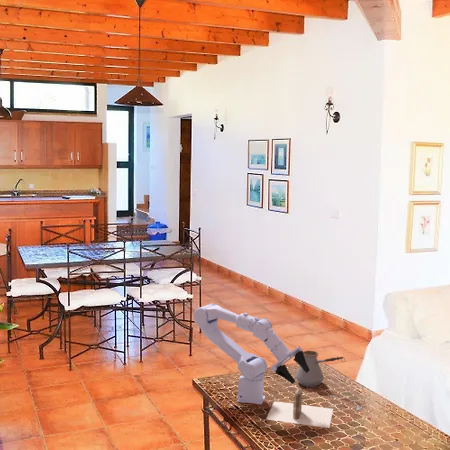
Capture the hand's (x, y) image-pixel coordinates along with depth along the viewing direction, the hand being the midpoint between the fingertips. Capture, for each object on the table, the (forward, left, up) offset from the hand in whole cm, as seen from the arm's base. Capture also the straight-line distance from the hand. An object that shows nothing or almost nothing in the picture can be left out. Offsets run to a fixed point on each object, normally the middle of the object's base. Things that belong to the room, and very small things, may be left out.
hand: (301, 377), depth 214 cm
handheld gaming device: (+13, +12, -14) cm, 23 cm away
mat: (0, -2, -14) cm, 14 cm away
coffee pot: (+4, +27, -14) cm, 31 cm away
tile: (-1, -3, -13) cm, 13 cm away
